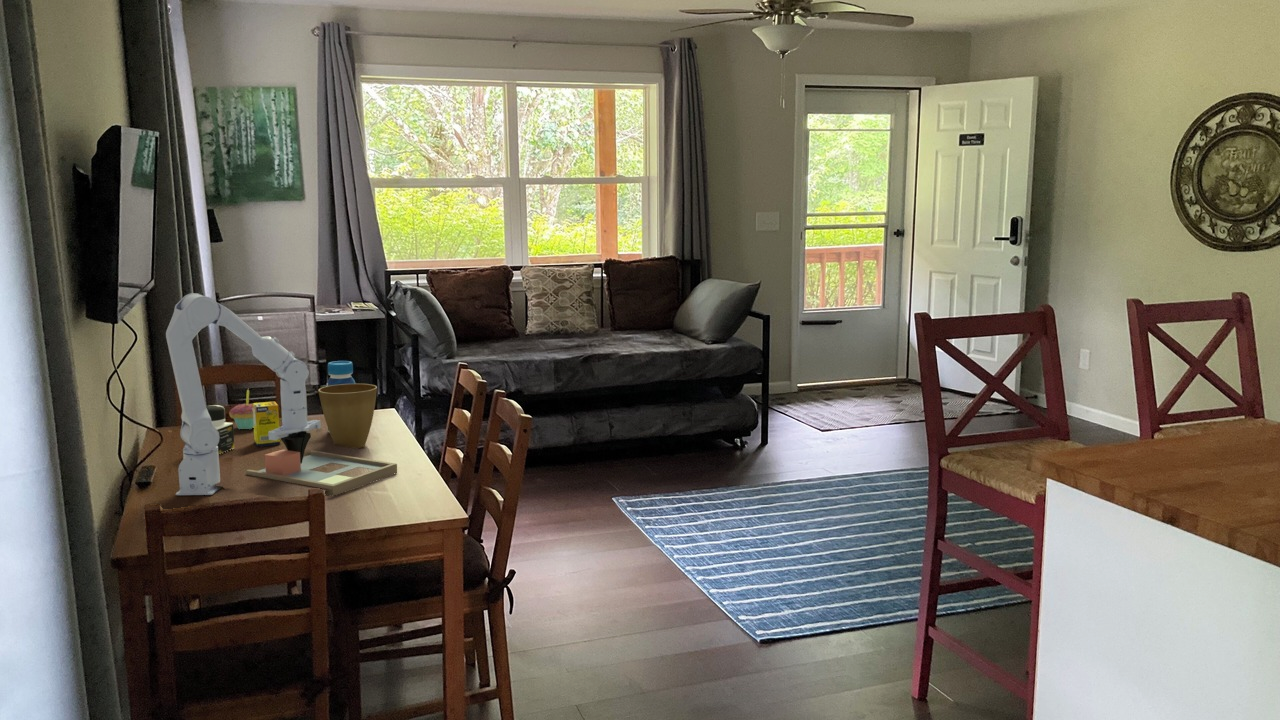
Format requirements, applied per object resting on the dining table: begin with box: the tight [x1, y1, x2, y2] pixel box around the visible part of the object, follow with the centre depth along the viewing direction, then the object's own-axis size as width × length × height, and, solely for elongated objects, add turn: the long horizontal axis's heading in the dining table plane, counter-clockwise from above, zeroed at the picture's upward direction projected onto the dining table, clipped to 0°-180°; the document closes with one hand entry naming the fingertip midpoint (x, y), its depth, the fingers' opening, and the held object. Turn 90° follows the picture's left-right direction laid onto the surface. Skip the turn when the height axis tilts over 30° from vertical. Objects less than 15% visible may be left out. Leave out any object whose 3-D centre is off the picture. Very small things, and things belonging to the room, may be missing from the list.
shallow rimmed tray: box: [245, 450, 398, 497], centre depth 227 cm, size 27×21×2 cm
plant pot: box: [318, 383, 378, 450], centre depth 255 cm, size 15×15×16 cm
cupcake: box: [228, 387, 254, 430], centre depth 276 cm, size 9×8×12 cm
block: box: [264, 449, 301, 476], centre depth 226 cm, size 6×6×4 cm
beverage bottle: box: [325, 360, 357, 434], centre depth 271 cm, size 8×8×20 cm
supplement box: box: [251, 401, 281, 447], centre depth 258 cm, size 6×6×11 cm
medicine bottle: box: [206, 404, 236, 456], centre depth 249 cm, size 7×7×12 cm
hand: (297, 463), depth 230 cm, fingers closed
